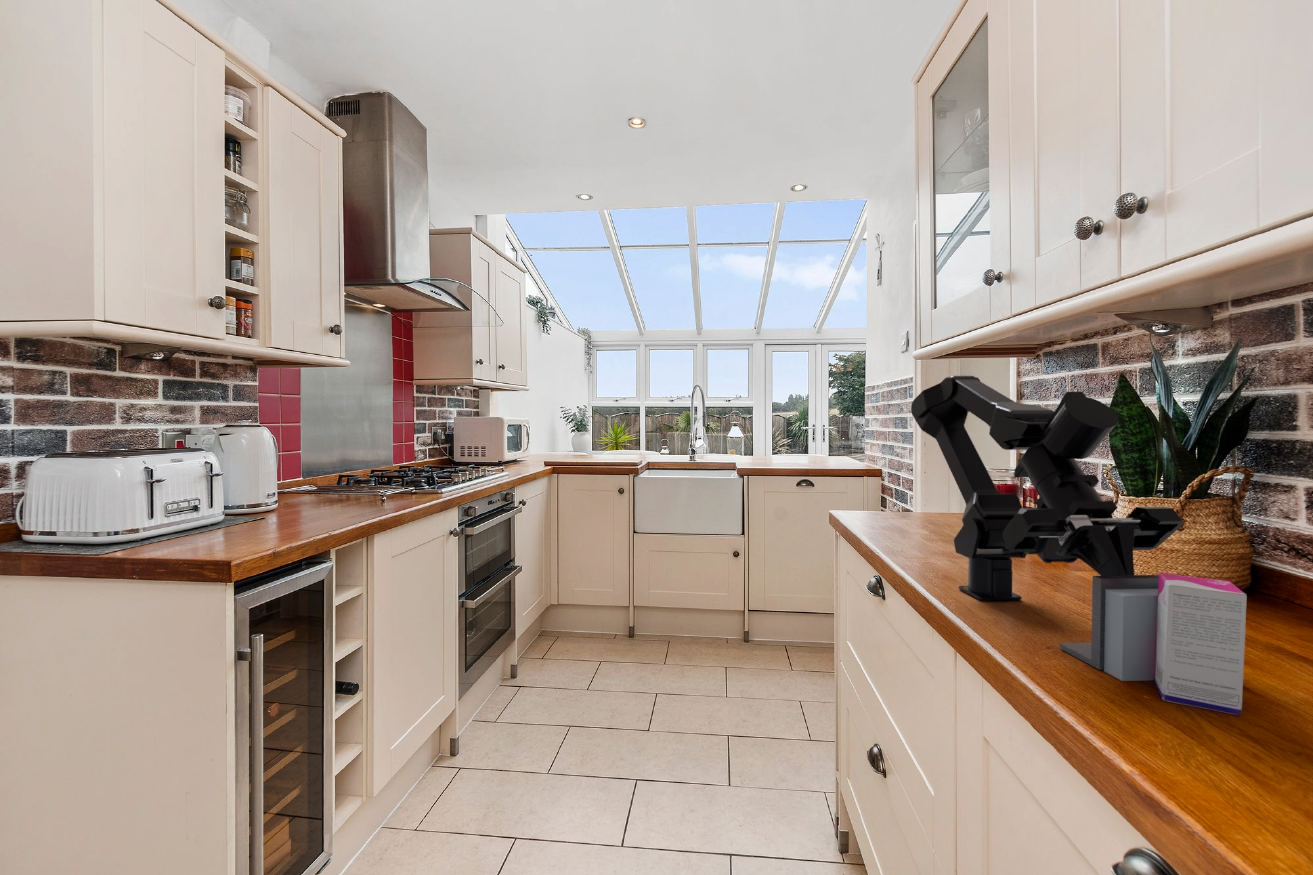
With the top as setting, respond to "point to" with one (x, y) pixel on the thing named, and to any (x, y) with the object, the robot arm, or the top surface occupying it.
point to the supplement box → (1200, 642)
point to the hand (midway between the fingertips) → (1129, 592)
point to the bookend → (1095, 650)
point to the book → (1130, 633)
